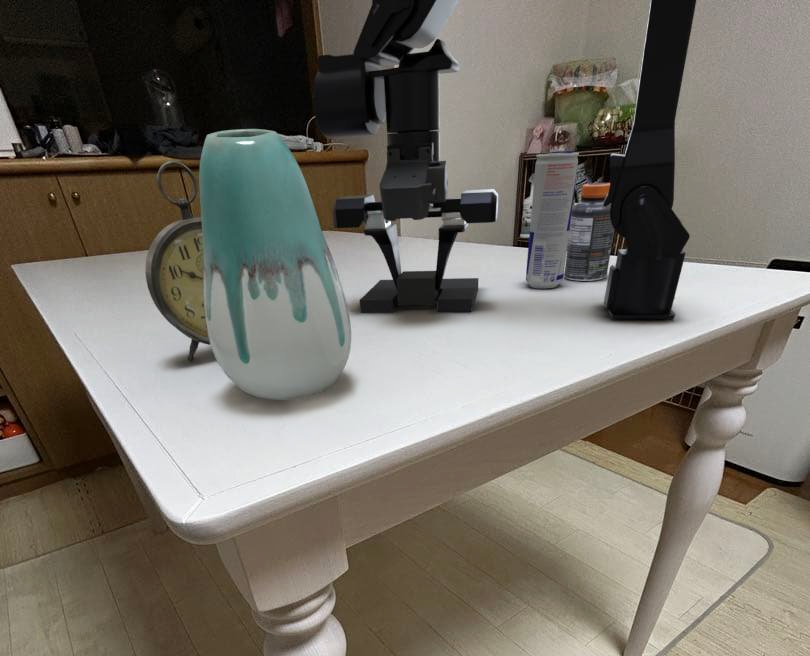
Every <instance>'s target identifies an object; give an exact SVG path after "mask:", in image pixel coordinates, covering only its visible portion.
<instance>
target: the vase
mask: <svg viewBox="0 0 810 656" xmlns="http://www.w3.org/2000/svg"><path fill="white" fill-rule="evenodd" d="M198 174H199V175H198V176H199V178H198V179H199V180H198V182H199V200H200V201H199V202H200V218H201V220H202V238H203V267H202V275H203V300H204V311H205V319H206V327H207V332H208V338H209V342H210V349H211V351H212V354H213V356H214V358H215V360H216V362H217V364H218V366H219V367H220V369H221V370H222V372H223V373H224V374H225V376H226V377H227V378H228V380H230V381H231V382H232V383H233V384H235V386H236V387H237V388H239V389H240V390H242V391H243V392H244V393H246V394H249V395H251V396H253V397H256V398H259V399H264V400H271V401H272V400H273V401H286V400H288V401H289V400H296V399H302V398H306V397H309V396H314V395H315V394H318V393H320V392H323V391H324V390H326V389H327V388H329V387H330V386H332V385H333V384H334V383H335V382H336V381H337V380H338V379H339V378H340V376H341V375H342V373H343V371H344V370H345V367H346V365H347V363H348V361H349V356H350V352H351V349H352V348H351V347H352V323H351V319H350V313H349V309H348V303H347V299H346V296H345V292H344V289H343V285H342V283H341V279H340V275H339V273H338V272H339V271H338V270H337V266H336V264H335V260H334V258H333V255H332V252H331V250H330V248H329V245H328V243H327V241H326V238H325V235H324V233H323V230H322V227H321V224H320V220H319V218H318V214H317V211H316V209H315V205H314V201H313V199H312V196H311V193H310V189H309V187H308V185H307V181H306V178H305V177H304V174H303V172H302V170H301V167H300V165H299V163H298V162H297V160H296V158H295V156H294V154H293V153H292V151H291V149H290V148H289V147H288V145H287V144H286V142H285V141H284V139H283V138H282V137H281V136H280V134H278V133H277V131H275V130H268V129H260V128H243V129H241V128H240V129H228V130H226V129H225V130H221V131H215V132H211V133H209V134H206V136H205V139H204V142H203V146H202V150H201V154H200V161H199V173H198Z"/></svg>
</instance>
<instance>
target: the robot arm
mask: <svg viewBox="0 0 810 656" xmlns="http://www.w3.org/2000/svg"><path fill="white" fill-rule="evenodd" d="M458 2H459V0H372V1H371V6H370V9H369V11H368V14H367V16H366V19H365V21H364V24H363V27H362V29H361V31H360V34H359V36H358V39H357V41H356V44H355V46H354V49H353V53H350V54H342V55H332V54H321V55H318V56H317V58H316V59H317V68H318V71H317V73H316V75H315V78H314V85H313V95H312V98H311V99H312V107H313V113H314V117H315V122H316V124H317V127H318V129H319V131H320V133H321V134H322V136H324V138H326V139H338V138H350V137H363V136H364V137H365V136H374V135H376V134H377V133H378V131H379V127H380V124H386V137H387V138H386V140H387V145H386V165H385V169H384V172H383V174H382V177H381V179H380V182H379V184H378V186H379V193H380V201H376V199H375V195H374V194H364V195H360V194H359V195H346V196H343V197H340V198H337V199H335V201H334V202H333V204H332V211H331V214H332V222H333V228H334V229H353V228H355V229H356V228H361V226H362V225H363V223H364V229H363V231H362V232H363V235H364V236H368V237H372V239H373V240H374V241H375V243H376V244H377V245H378V247H379V249H380V251H381V253H382V255H383V257H384V259H385V262H386V264H387V267H388V270H389V273H390V275H391V278H392V280H393V281H394V284H395V286H396V289H397V280H396V279H397V278H398V277H399V276H400V275H401V273H402V265H401V257H400V254H401V253H400V246H399V235H398V227H397V223H392V222H395V221H397V220H400V219H401V220H402V219H403V220H404V219H412V220H413V221H421V220H424V219H427V218H429V219H430V218H441V221H443V223H442V224H441V225H440V226H439V228H438V245H437V256H436V266H435V271H436V290H439V289H440V287H441V283H442V279H444V275H445V272H446V269H447V266H448V261H449V258H450V254H451V251H452V248H453V246H454V244H455V241H456V239H457V236H458V234H460V233H465V232H466V230H467V229H468V227H469V224H487V223H489V224H490V223H496V222H497V219H498V213H499V212H498V211H499V193H498V192H497V191H496V190H495V189H494V188H488V189H485V188H484V189H468V190H467V189H464V191H461V193H460V197H450V198H447V197H448V194H449V176H448V166H447V161H446V160H441V115H440V114H441V113H440V111H441V110H440V108H441V107H440V105H441V104H440V102H441V101H440V100H441V99H440V93H441V92H440V89H441V88H440V75H443V74H444V75H445V74H453V73H457V72H459V71H460V69H461V65H460V63H459V62H458V61H457V59H455V58H454V57H453V55H452V54H451V52H450V51H449V49H448V47H447V45H446V42H445V41H444V40H442V39H440V38H437V37H438V35H439V34H440V32H441V31H442V29H443V27H444V26H445V24H446V22H447V20H449V18H450V16H451V15H452V12H453V11H454V9H455V7H456V6H457V4H458ZM696 5H697V0H650V4H649V12H648V18H647V25H646V31H645V40H644V46H643V53H642V60H641V68H640V75H639V82H638V88H637V96H636V101H635V102H636V103H635V109H634V116H633V124H632V127H631V131H630V135H629V137H628V141H627V145H626V149H625V152H624V154H623V153H611V154H610V156H609V183H610V188H609V191H608V193H607V195H606V198H605V201H604V204H603V205H604V206H605V207H606V206H607V205H609V204H610V203H611V207H610V220H611V224H612V226H613V228H614V231H615V232H616V233H617V235H619V236H621V237H623V238H625V239H624V240H625V245H626V248H625V249H624V248H623V249H618V250H617V255H616V259H615V261H616V262H615V264H612V265H610V267H609V271H608V275H607V281H606V287H605V293H604V300H603V305H604V307H605V309H606V311H607V312H608V314H609V316H610V318H611V319H612V320H674V319H675V317H676V313H675V312H674V310H672V309H673V305H674V302H675V299H676V298H675V297H676V294H677V289H678V285H679V282H680V277H681V273H682V269H683V265H684V262H685V257H686V255H687V253H686V252H685V251H684V248H685V246H687V243H688V241H689V240H690V237H691V236H690V233H689V232H688V230H687V228H686V226H685V225H684V224H683V223H682V221H681V219H680V218H679V217H678V215H677V214H676V213H675V212H674V210H673V207H674V200H675V174H676V173H675V172H676V171H675V170H676V145H675V144H676V131H675V130H676V117H677V112H678V106H679V100H680V94H681V88H682V82H683V77H684V72H685V67H686V60H687V55H688V49H689V44H690V39H691V33H692V28H693V23H694V22H693V21H694V16H695V11H696ZM433 42H434V43H433ZM432 43H433V45H432V46H431V48H430V49H429V50H428V51H419V52H413V53H412V51H413V50H414V49H424V48H426V47H428V46H429V45H430V44H432ZM391 66H397V67H392V68H386V69H382V67H391ZM385 121H386V122H385Z"/></svg>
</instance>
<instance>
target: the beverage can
mask: <svg viewBox="0 0 810 656" xmlns="http://www.w3.org/2000/svg"><path fill="white" fill-rule="evenodd" d="M579 155H580V152H573V151H571V150H566V151H565V150H564V151H561V150H560V151H551V153H545V154H544V153H542V154H536V158H537V159H536V161H535V165H534V166H535V167H534V176H533V189H532V200H531V201H532V202H531V213H530V223H529V224H530V226H529V237H528V248H527V259H526V269H525V271H526V272H525V281H526V283H528V284H529V287H530V288H534V289H540V290H541V289H545V290H546V289H554V288H556V287H558V286H559V284H560V283H562V282H563V280H564V277H565V275H564V272H565V265H566V256H567V248H568V240H569V232H570V223H571V215H572V209H573V207H574V206H573V205H574V197H575V190H576V182H577V173H578V166H579V158H578V156H579Z"/></svg>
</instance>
